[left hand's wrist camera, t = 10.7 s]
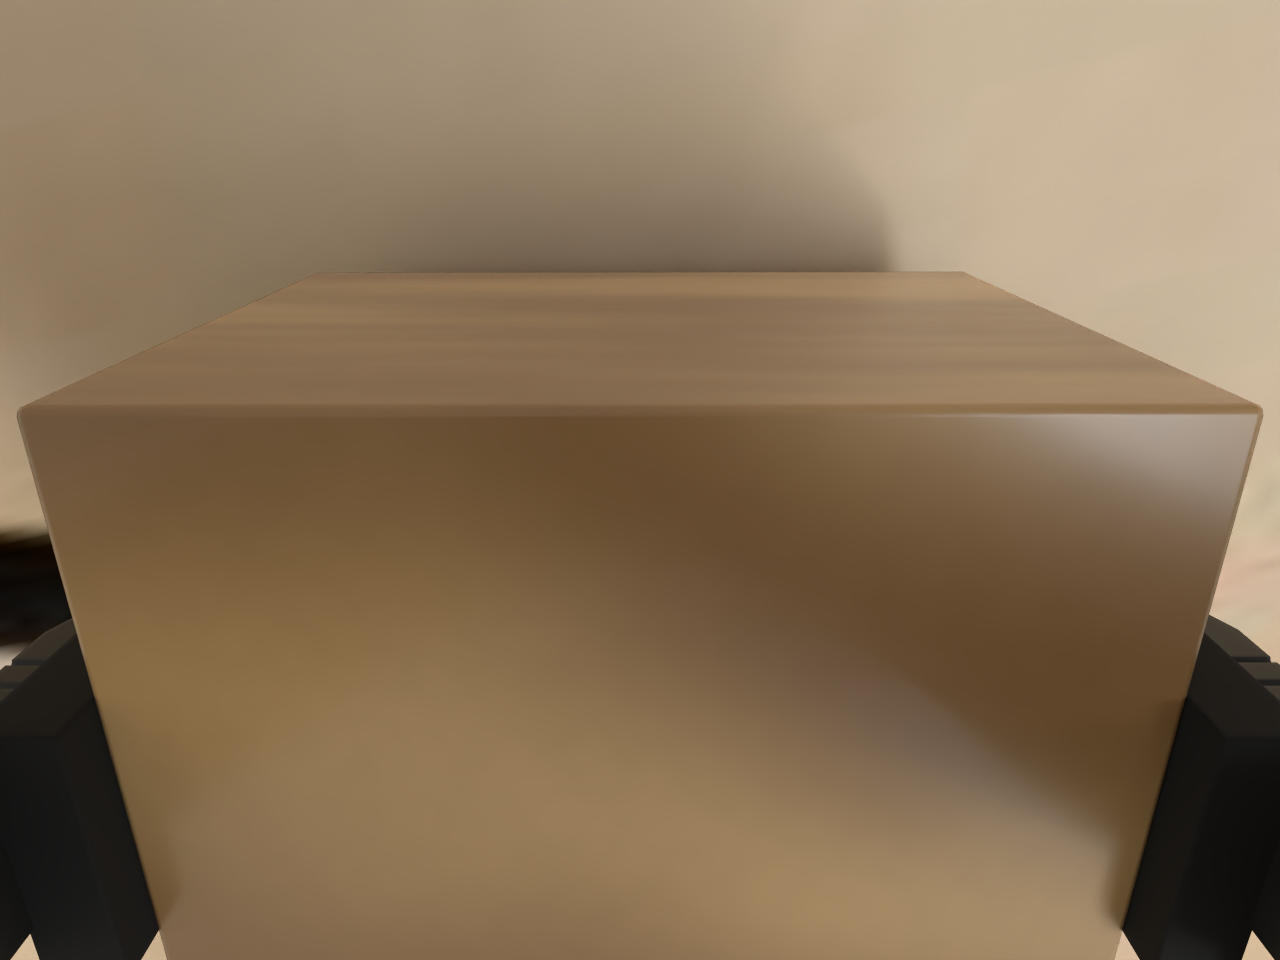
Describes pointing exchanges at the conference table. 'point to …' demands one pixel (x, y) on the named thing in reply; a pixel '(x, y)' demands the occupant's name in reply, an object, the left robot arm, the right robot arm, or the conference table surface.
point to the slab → (640, 614)
